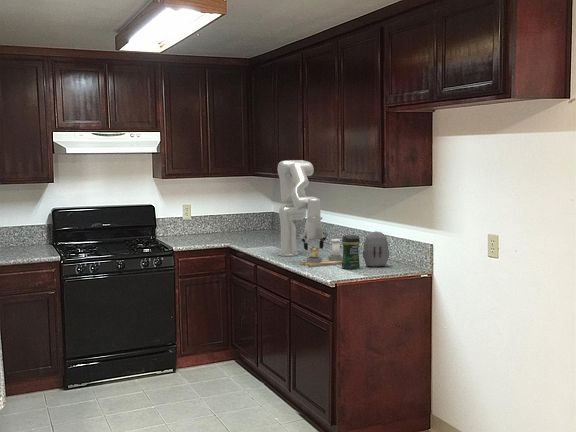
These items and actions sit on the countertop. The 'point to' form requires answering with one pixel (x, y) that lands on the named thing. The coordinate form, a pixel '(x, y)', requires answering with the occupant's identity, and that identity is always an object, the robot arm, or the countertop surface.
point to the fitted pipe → (335, 251)
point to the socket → (314, 260)
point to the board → (324, 263)
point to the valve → (313, 252)
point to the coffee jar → (350, 252)
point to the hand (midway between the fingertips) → (313, 249)
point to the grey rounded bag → (376, 249)
